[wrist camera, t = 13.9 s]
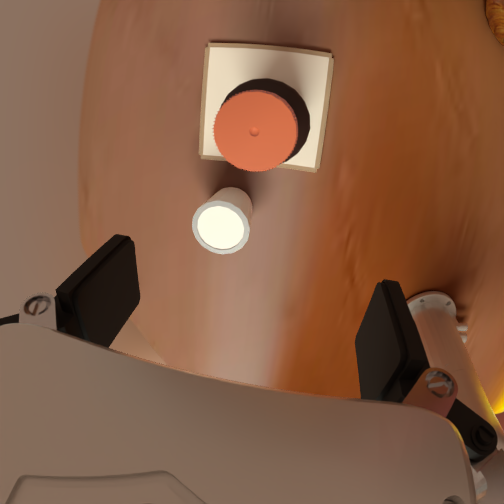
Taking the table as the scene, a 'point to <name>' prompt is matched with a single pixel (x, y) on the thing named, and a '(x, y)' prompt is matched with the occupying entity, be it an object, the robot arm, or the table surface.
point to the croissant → (496, 18)
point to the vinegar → (261, 124)
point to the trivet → (274, 67)
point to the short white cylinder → (223, 221)
